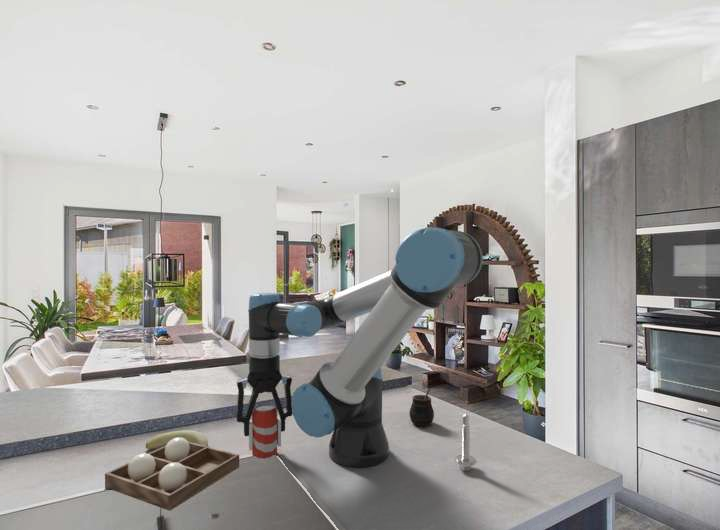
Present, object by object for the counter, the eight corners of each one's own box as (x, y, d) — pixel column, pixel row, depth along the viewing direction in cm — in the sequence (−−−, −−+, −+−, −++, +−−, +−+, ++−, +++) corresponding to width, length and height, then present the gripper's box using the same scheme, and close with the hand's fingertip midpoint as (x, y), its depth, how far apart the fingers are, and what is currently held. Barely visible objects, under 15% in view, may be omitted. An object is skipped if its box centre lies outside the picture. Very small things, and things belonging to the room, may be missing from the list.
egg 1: (161, 476, 98) (161, 451, 98) (139, 488, 93) (139, 462, 93) (144, 471, 101) (144, 447, 101) (122, 482, 96) (121, 457, 96)
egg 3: (192, 486, 94) (192, 460, 94) (171, 499, 89) (171, 472, 89) (174, 480, 97) (174, 455, 97) (152, 493, 92) (152, 466, 92)
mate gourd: (404, 425, 130) (404, 391, 130) (416, 417, 136) (416, 385, 136) (426, 430, 126) (427, 395, 126) (438, 422, 132) (438, 389, 132)
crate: (239, 467, 104) (239, 454, 104) (169, 510, 86) (169, 495, 86) (179, 450, 113) (179, 439, 113) (105, 487, 95) (104, 473, 95)
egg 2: (194, 458, 107) (194, 436, 107) (176, 468, 102) (175, 445, 102) (178, 454, 110) (178, 432, 109) (159, 463, 105) (159, 440, 104)
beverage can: (262, 462, 106) (261, 413, 106) (247, 454, 111) (247, 407, 110) (282, 454, 111) (282, 406, 110) (267, 446, 115) (267, 401, 115)
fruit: (155, 441, 119) (155, 429, 119) (212, 439, 120) (212, 427, 120) (144, 453, 112) (144, 440, 112) (204, 451, 113) (204, 438, 113)
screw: (452, 470, 102) (457, 462, 107) (473, 475, 100) (477, 466, 104) (453, 415, 102) (458, 409, 106) (474, 419, 100) (478, 412, 104)
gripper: (299, 349, 117) (299, 435, 117) (223, 354, 111) (224, 445, 111) (305, 355, 110) (305, 446, 110) (224, 361, 103) (225, 458, 104)
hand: (264, 445), depth 111 cm, fingers closed on beverage can, 6 cm apart
